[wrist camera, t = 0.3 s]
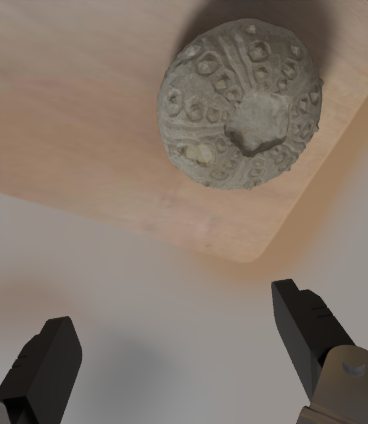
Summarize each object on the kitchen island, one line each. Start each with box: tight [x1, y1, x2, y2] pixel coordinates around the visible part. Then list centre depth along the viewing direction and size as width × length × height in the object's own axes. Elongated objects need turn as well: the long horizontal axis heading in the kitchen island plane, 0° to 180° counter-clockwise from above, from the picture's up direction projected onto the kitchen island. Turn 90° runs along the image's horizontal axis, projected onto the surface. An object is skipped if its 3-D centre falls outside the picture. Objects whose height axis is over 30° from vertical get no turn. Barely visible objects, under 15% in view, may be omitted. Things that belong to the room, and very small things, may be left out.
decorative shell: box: [157, 18, 324, 191], centre depth 34 cm, size 18×18×10 cm
